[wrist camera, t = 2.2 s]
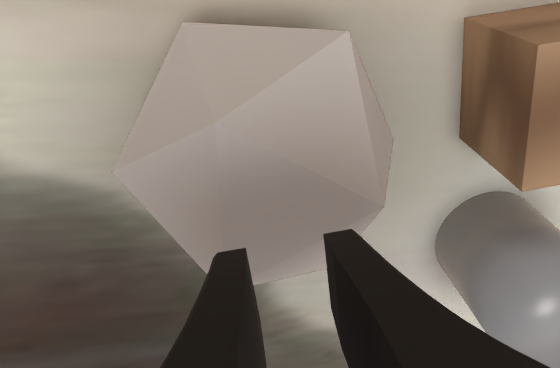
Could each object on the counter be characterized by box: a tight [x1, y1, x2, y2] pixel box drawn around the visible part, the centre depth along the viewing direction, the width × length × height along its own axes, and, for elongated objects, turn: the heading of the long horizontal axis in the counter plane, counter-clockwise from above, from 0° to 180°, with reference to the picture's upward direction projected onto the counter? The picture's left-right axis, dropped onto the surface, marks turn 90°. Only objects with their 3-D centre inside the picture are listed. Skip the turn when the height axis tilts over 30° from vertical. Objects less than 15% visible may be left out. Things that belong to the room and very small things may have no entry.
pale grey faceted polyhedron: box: [111, 22, 393, 286], centre depth 17 cm, size 8×9×10 cm
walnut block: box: [459, 3, 560, 191], centre depth 18 cm, size 5×5×5 cm
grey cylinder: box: [435, 192, 560, 368], centre depth 21 cm, size 5×5×6 cm
